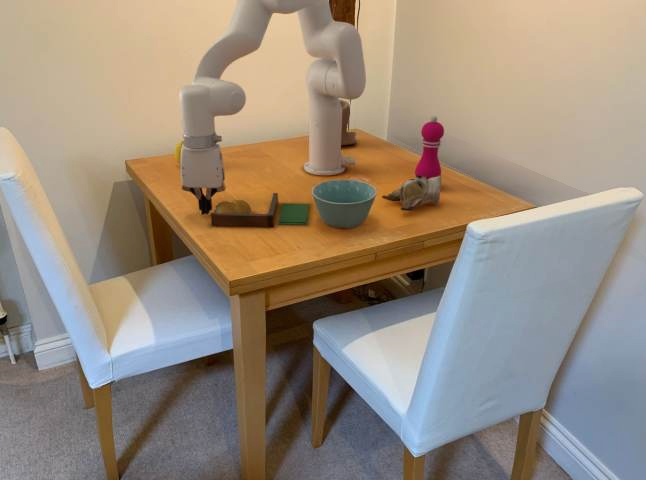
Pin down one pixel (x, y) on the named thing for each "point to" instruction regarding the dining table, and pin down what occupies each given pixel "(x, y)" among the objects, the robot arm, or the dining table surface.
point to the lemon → (178, 152)
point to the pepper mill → (430, 150)
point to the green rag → (293, 214)
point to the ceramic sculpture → (417, 192)
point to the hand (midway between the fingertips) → (205, 212)
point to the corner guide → (247, 217)
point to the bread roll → (233, 207)
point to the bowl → (343, 202)
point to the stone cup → (346, 136)
